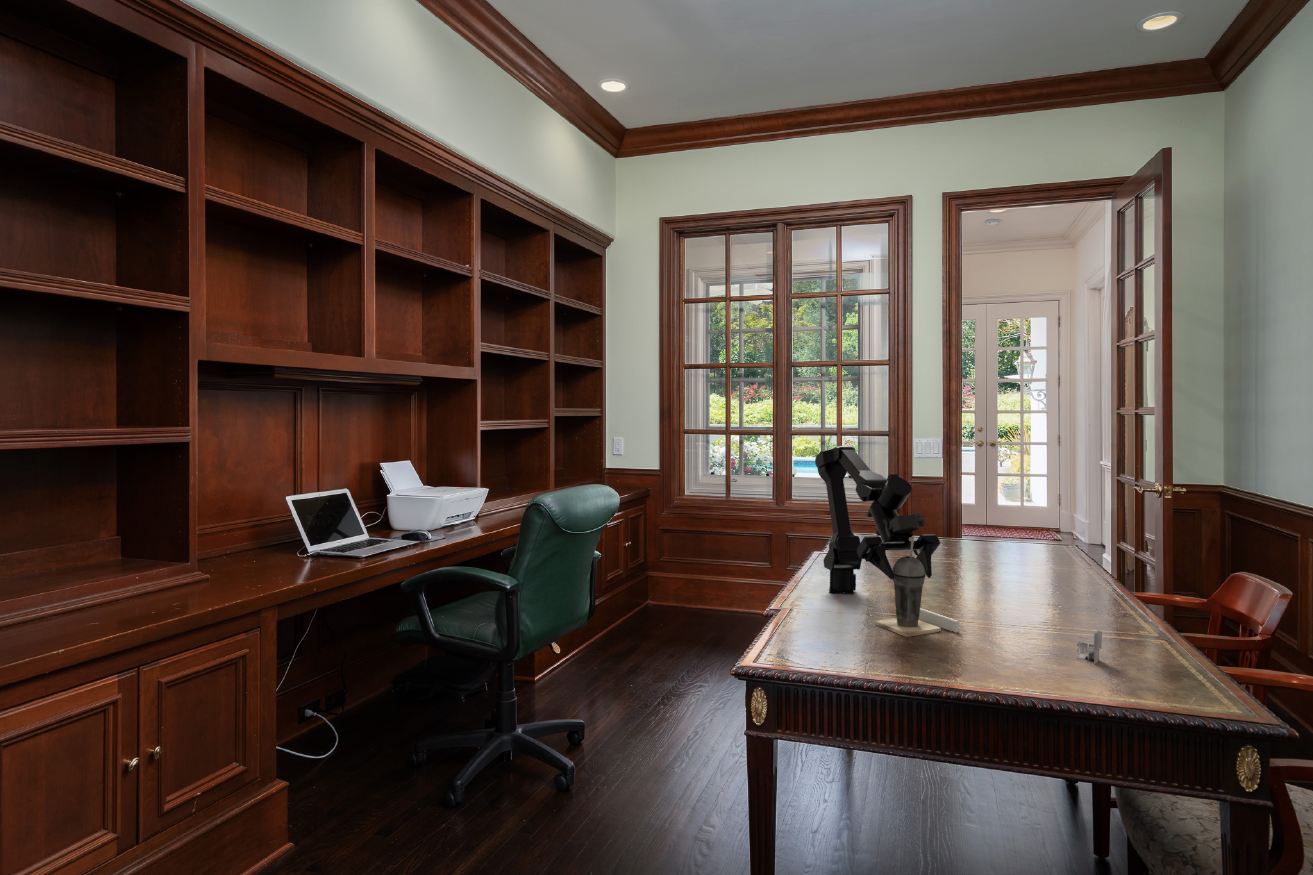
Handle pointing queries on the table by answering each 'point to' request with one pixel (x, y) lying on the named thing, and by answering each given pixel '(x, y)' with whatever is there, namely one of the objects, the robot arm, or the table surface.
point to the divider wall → (939, 620)
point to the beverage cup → (908, 589)
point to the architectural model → (1090, 648)
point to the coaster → (907, 631)
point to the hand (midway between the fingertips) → (911, 577)
